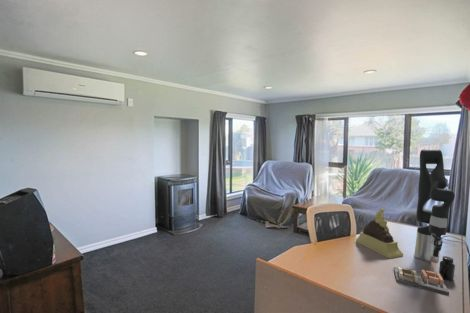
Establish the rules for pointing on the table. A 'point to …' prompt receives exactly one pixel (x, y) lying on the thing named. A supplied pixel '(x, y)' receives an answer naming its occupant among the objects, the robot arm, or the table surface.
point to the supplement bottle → (447, 268)
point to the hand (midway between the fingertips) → (434, 254)
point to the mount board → (417, 280)
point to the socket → (432, 277)
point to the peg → (432, 258)
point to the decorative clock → (379, 237)
